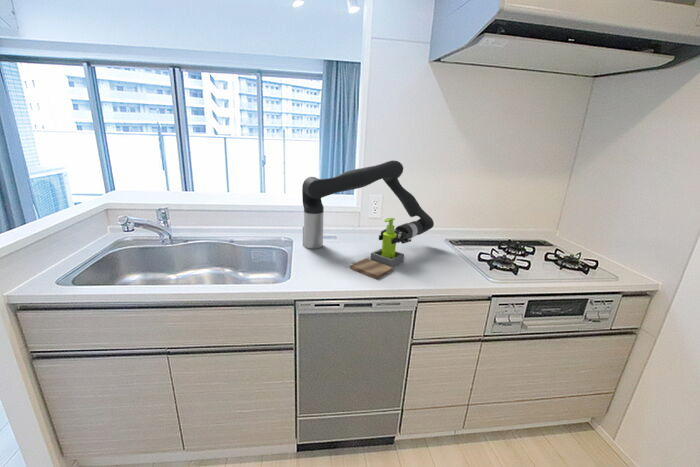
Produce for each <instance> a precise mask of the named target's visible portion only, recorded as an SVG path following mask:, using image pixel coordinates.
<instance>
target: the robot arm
mask: <svg viewBox="0 0 700 467" xmlns="http://www.w3.org/2000/svg"><path fill="white" fill-rule="evenodd" d="M403 172H404V166H403V163H401V162H400V161H398V160H394V159H393V160H389V161H386V162H383V163H380V164H376V165H372V166H366V167H365V166H364V167H361V168H355V169H350V170H347V171H344V172H342V173H340V174H339V175H337V176H334V177H329V178H317V177H315V176H309V177H307V178H305V179H304V180H303V182H302V188H301V189H302V190H301V191H302V192H301V193H302V195H301V196H302V206H303V225H302V245H303V246H304V248H307V249H311V250H315V249H321V248H322V247H323V246H324V211H325V210H324V205H323V203H322V202H323V201H322V198H324V197H327V196H331V195H334V194H337V193H342V192H347V191H353V190H357V189H361V188H364V187H367V186H369V185H371V184H373V183H375V182H377V181H379V180H383V182H384V183H385V184H386V185H387V186H388V187H389V189H390V190H391V191H392V192H393V194H394V195H395V196H396V198H398V201H400V203H401V205H402V206H403V208H404V209H405V210H406V211H405V212H406V213H407V214H408V216H409V217H410V218H413V217H419V219H417V220H413V221H410V222H405V223H403V224H400V225H397V226H396V227H394V233H396V234H397V237H396V238H393V239H392V240H391V244H395V243H396V244H400V243H401V244H406V243H410V242H412V239H413V238H414V237H416V236H420V235H422V234H424V233H426V232H428V231H429V230H431V229H432V228H433V227H434V223H435V222H434V219H433V218H432V217H431V216H430V215H429V214H428V213H426V211H425V210H424V209H423V208H422V207H421V206H420V203H419V202H418V200H417V199H416V198H415V196H414V195H413V194H412V193H411V192H409V191H408V190H407V189H405V187H403V186H402V184H401V183H400V181H399V178H400V177H401V175H402V174H403ZM384 232H386V228H385V229H383V230H381V231H380V235H378V241H383V233H384Z"/></svg>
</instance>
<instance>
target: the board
mask: <svg viewBox="0 0 700 467" xmlns="http://www.w3.org/2000/svg"><path fill="white" fill-rule="evenodd" d="M349 269H350V270H353V271H356V272H358V273H359V274H360V273H361V274H362V275H365V276H368V277H371V278H373V279H376V280H379V279H381V278H383V277H384V276H386V275H388V274H390V273H392V272H393V271H394V268H393V267H390V266H387V265H384V264H382V263H379V262H376V261H373V260H370V258H367V257H366V258H364V259H361V260H359V261H357V262H354V263H352V264H350V265H349Z"/></svg>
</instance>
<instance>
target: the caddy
mask: <svg viewBox="0 0 700 467" xmlns="http://www.w3.org/2000/svg"><path fill="white" fill-rule="evenodd" d="M381 255H382V248H379V249H378V250H375V251H373V252H370V258H369V259H370V260H373V261H376V262H379V263H382V264H384V265H387V266H390V267H393V269H394V268H396V267H398V266H400V265H402V264H404V262H405V253H403V252H399V251H396V250H395V257H394V258H392V259H390V258H387V257H384V256H381Z"/></svg>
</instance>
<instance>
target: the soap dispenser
mask: <svg viewBox="0 0 700 467" xmlns="http://www.w3.org/2000/svg"><path fill="white" fill-rule="evenodd" d="M395 219H396V218H394V217H387V218H385V219H383V221H384V222H385V223H388V224H387V225H386V228H385V229H386V232H384V233H383V240H382V244H381V249H382V255H381V256H384V257H387V258H390V259H392V258H394V257H395V251H396V250H397V248H396V247H397V243H395V244H391V240H392V239H393V238H396V237H397V234H396V233H394V230H395V228H396V227H395V225H394V221H395Z"/></svg>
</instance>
